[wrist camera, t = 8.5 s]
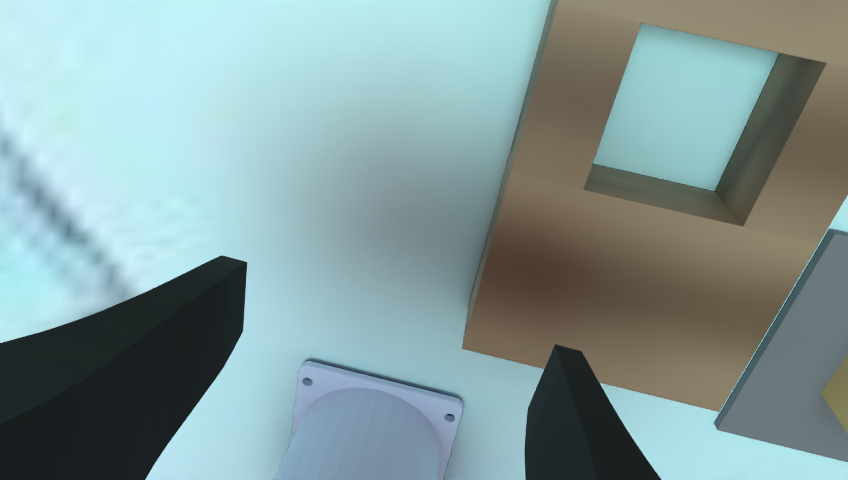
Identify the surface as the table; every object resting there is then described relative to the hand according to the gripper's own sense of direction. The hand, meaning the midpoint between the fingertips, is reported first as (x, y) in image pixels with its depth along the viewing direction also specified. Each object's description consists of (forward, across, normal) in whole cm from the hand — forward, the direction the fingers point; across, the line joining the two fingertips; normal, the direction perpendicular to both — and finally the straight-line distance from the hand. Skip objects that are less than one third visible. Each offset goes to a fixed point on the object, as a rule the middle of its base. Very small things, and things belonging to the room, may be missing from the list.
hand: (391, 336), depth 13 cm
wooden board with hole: (+10, -7, -4) cm, 13 cm away
